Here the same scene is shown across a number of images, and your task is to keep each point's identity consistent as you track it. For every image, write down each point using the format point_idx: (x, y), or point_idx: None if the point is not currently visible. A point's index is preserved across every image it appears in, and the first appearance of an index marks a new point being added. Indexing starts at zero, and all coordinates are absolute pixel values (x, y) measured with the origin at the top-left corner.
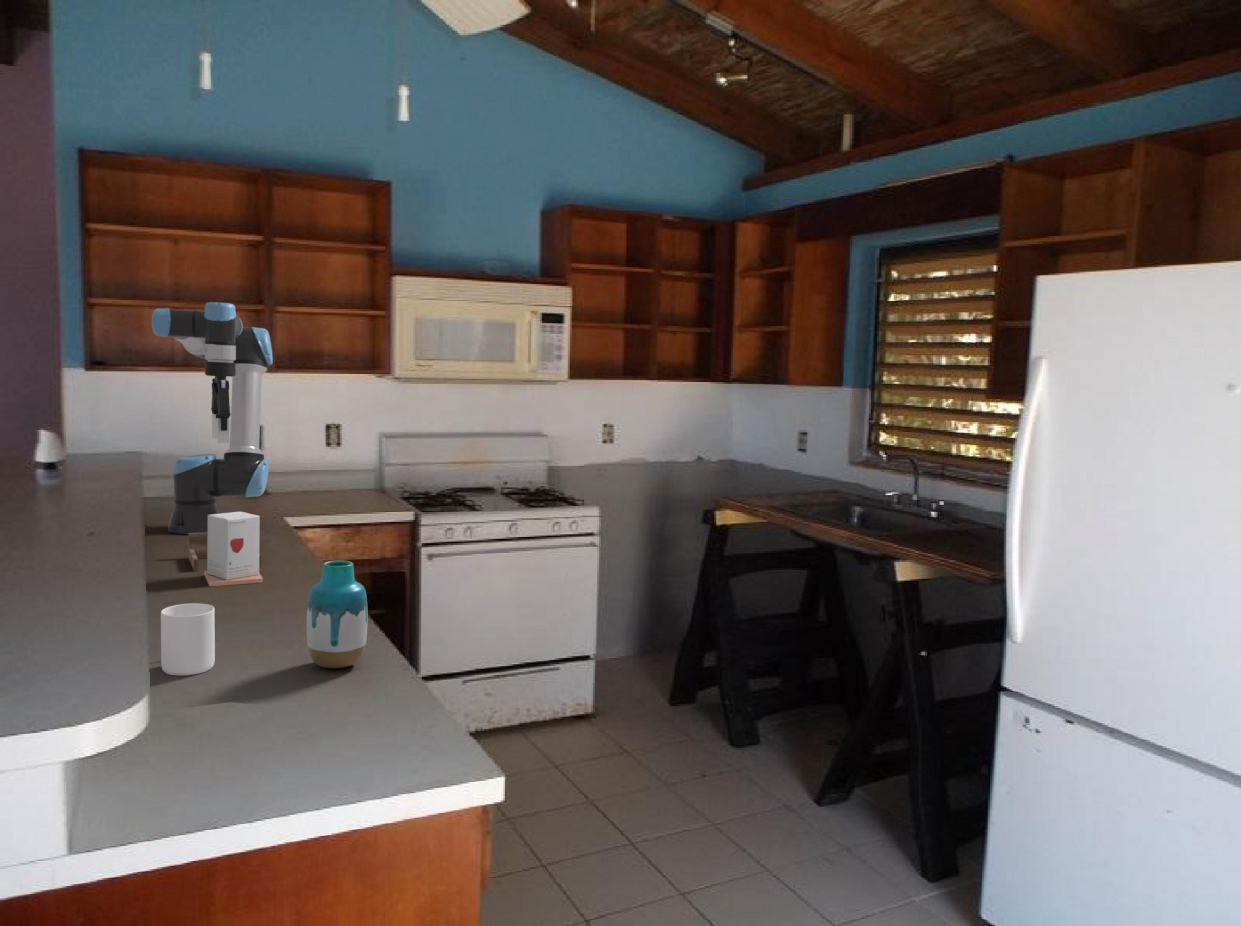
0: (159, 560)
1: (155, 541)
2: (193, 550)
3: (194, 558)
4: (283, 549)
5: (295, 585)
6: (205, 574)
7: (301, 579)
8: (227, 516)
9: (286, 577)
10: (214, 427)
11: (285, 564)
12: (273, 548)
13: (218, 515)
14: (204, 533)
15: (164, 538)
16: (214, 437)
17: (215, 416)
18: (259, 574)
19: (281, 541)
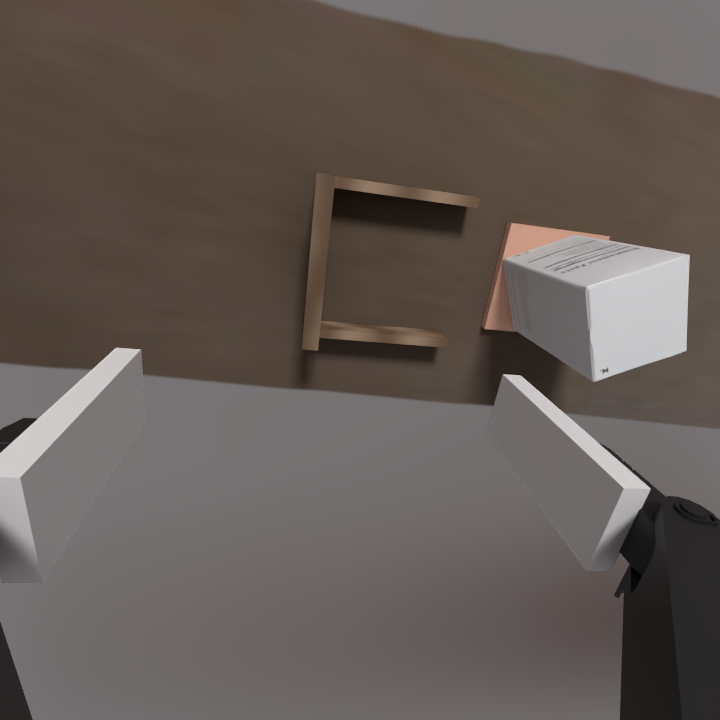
0: (302, 383)
1: (62, 366)
2: (348, 332)
3: (434, 344)
4: (279, 58)
5: (667, 179)
6: (502, 329)
7: (631, 146)
8: (651, 342)
9: (594, 173)
10: (111, 460)
11: (473, 128)
12: (253, 85)
13: (621, 360)
14: (321, 313)
15: (18, 342)
16: (144, 411)
17: (52, 536)
18: (574, 233)
19: (140, 13)
